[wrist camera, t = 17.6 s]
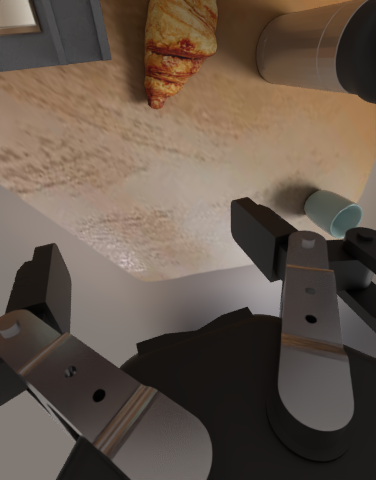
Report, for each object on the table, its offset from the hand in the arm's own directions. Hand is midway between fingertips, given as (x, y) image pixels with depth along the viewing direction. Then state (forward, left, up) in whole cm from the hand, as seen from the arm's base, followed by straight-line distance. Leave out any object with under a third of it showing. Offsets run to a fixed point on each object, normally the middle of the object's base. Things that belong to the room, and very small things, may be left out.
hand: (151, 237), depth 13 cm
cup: (-42, +25, -36) cm, 61 cm away
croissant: (-13, -9, -36) cm, 40 cm away
